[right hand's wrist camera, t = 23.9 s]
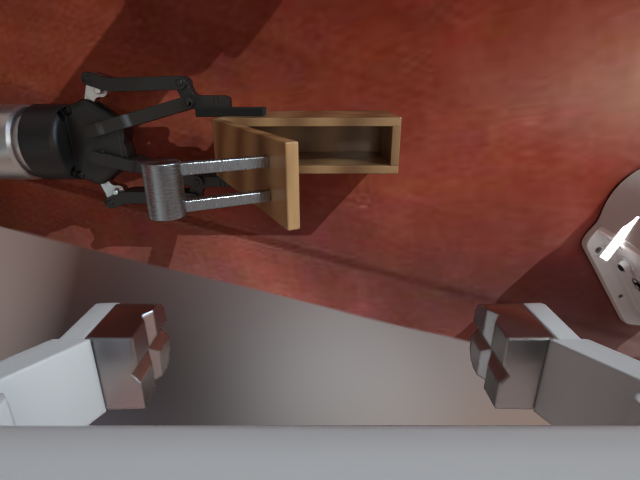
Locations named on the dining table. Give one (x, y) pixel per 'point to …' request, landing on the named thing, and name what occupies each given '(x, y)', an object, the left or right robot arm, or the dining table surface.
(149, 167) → the lid
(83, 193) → the dining table surface
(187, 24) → the dining table surface
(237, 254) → the dining table surface
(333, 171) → the brown wooden rectangular box
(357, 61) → the dining table surface
